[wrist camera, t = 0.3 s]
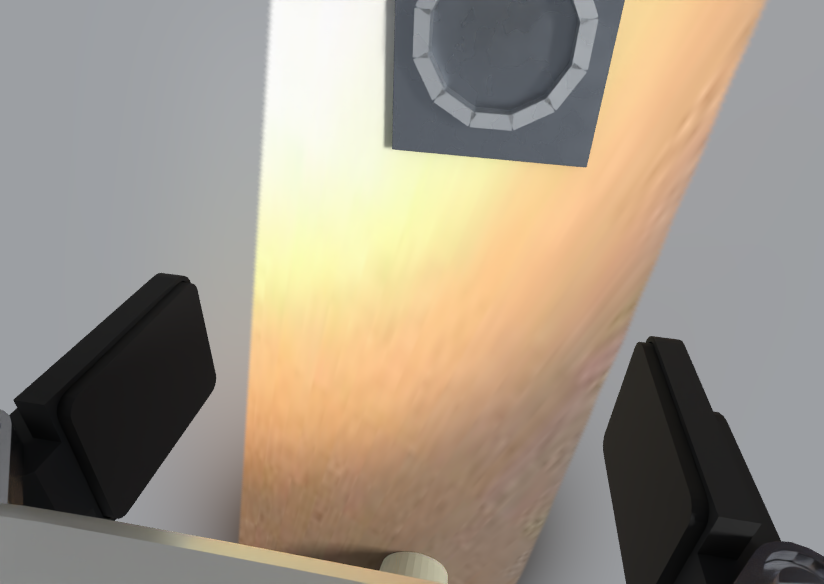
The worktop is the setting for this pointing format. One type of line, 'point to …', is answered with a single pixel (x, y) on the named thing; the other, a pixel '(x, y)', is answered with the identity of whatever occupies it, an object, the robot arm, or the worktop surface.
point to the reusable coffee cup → (415, 566)
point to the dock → (502, 77)
